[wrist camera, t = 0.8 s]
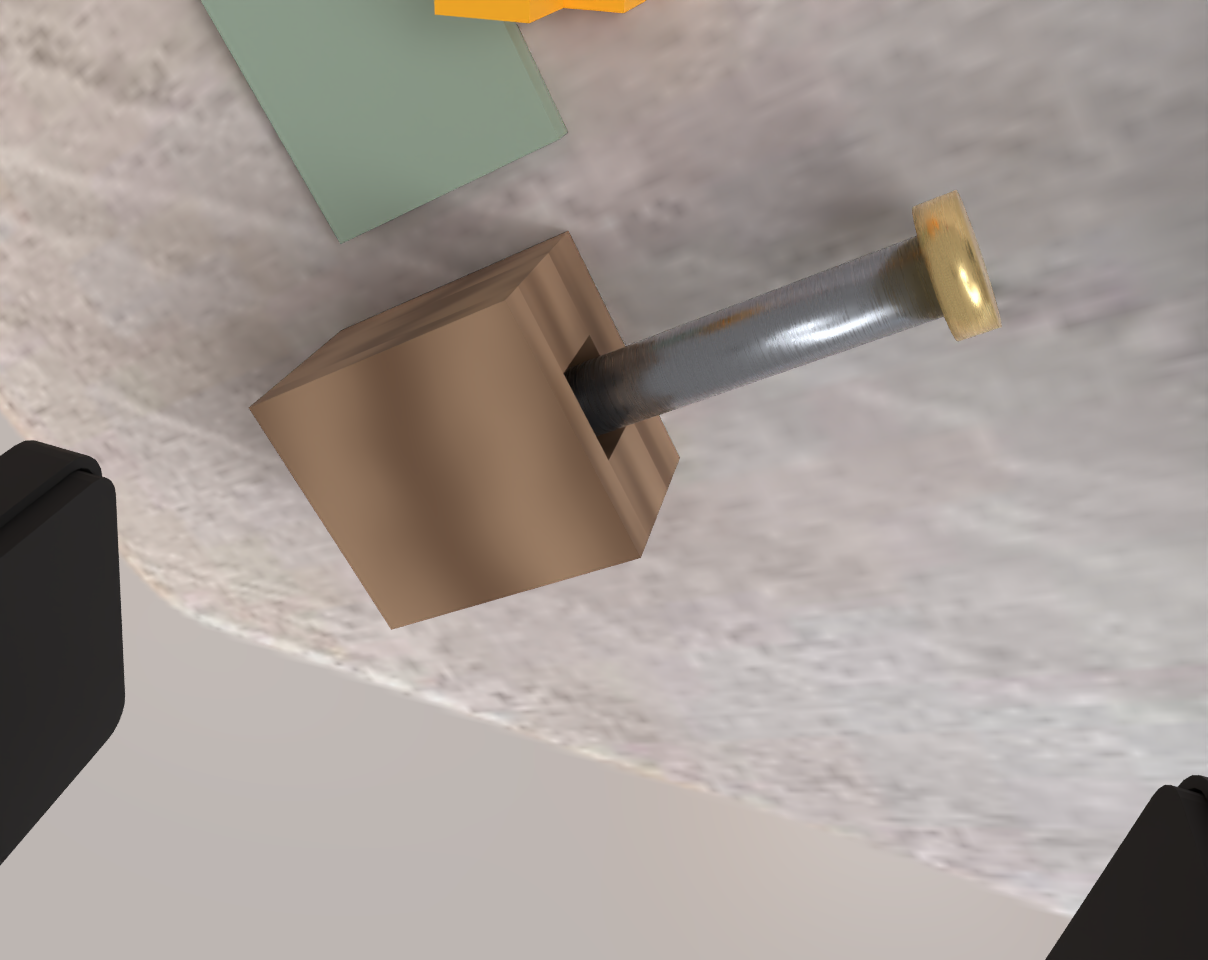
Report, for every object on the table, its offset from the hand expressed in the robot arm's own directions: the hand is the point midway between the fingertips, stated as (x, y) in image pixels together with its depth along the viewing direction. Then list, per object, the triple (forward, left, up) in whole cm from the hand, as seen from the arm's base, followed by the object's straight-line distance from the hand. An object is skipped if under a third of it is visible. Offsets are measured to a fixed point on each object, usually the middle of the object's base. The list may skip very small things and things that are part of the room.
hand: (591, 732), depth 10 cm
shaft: (+5, +5, -26) cm, 27 cm away
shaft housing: (+14, +5, -28) cm, 32 cm away
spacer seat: (+12, -10, -28) cm, 32 cm away
